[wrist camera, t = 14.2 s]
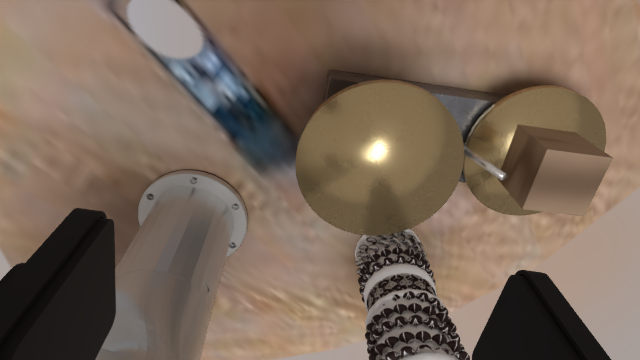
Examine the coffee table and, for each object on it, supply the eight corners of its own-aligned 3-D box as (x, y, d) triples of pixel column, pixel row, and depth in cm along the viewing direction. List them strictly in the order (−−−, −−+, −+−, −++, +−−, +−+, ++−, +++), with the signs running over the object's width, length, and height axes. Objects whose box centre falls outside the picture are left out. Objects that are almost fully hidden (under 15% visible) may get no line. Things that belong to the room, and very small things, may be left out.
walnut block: (552, 185, 46) (583, 216, 41) (497, 178, 46) (522, 209, 40) (575, 132, 44) (612, 157, 38) (517, 124, 43) (547, 149, 38)
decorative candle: (411, 209, 53) (484, 396, 31) (433, 265, 57) (513, 466, 35) (340, 236, 55) (363, 432, 33) (367, 288, 59) (403, 495, 37)
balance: (549, 199, 53) (610, 262, 42) (290, 167, 50) (286, 226, 40) (600, 84, 47) (687, 125, 36) (307, 40, 44) (307, 70, 33)
